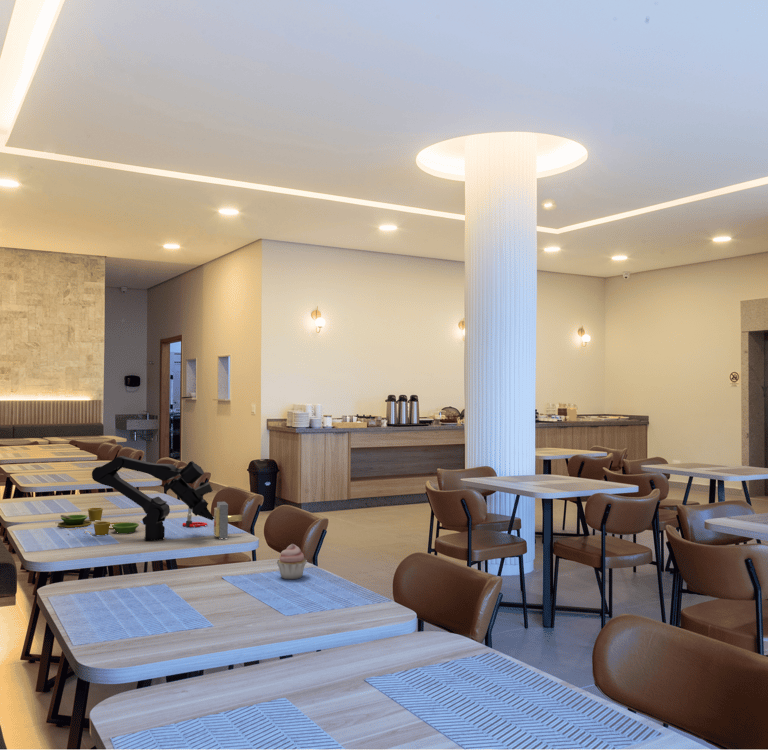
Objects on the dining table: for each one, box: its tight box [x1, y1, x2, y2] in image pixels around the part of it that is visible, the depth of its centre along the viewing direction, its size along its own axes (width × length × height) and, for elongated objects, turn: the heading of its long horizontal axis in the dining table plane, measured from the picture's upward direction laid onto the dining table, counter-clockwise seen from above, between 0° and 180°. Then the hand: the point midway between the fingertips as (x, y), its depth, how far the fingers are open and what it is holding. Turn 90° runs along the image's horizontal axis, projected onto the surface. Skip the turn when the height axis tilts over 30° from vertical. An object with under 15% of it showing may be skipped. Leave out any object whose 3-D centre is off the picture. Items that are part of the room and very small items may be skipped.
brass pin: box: [213, 507, 243, 538], centre depth 273 cm, size 10×6×10 cm, turn 111°
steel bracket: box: [216, 501, 229, 539], centre depth 272 cm, size 3×8×13 cm, turn 21°
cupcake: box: [276, 543, 308, 580], centre depth 214 cm, size 9×9×10 cm
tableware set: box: [55, 507, 140, 536], centre depth 290 cm, size 41×28×6 cm
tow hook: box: [182, 507, 208, 529], centre depth 296 cm, size 8×13×9 cm
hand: (213, 519), depth 271 cm, fingers closed
